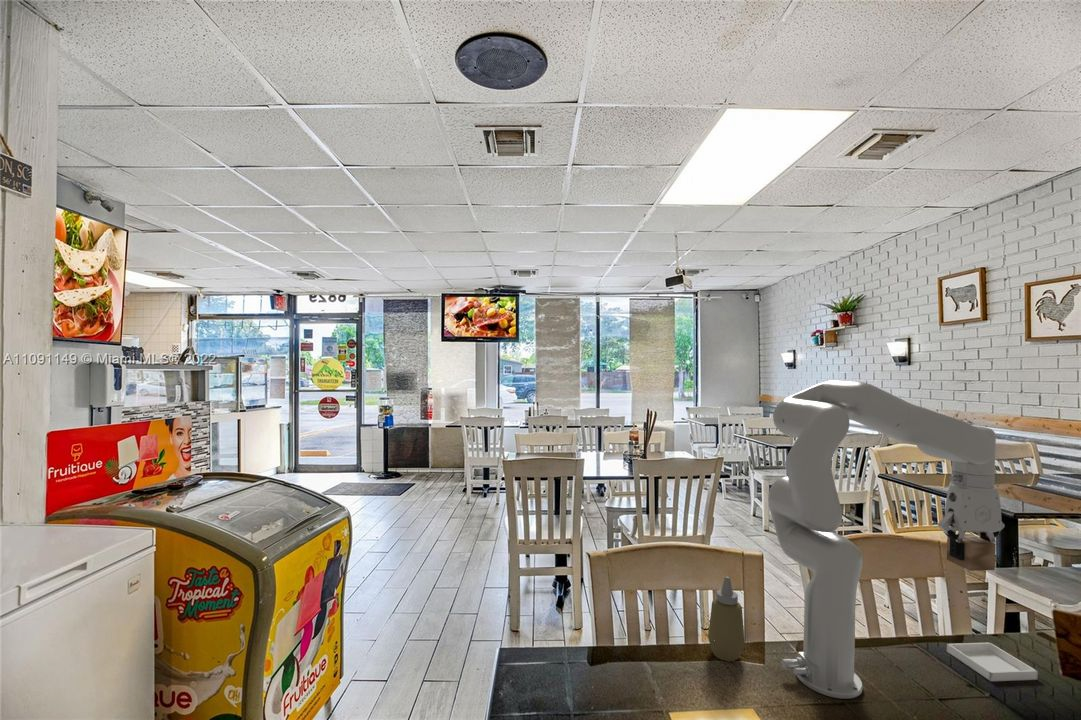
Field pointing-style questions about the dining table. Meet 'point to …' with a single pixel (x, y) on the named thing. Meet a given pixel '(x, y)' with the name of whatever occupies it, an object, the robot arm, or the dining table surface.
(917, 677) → the dining table surface
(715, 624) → the squeeze bottle
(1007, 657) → the tray
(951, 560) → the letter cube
